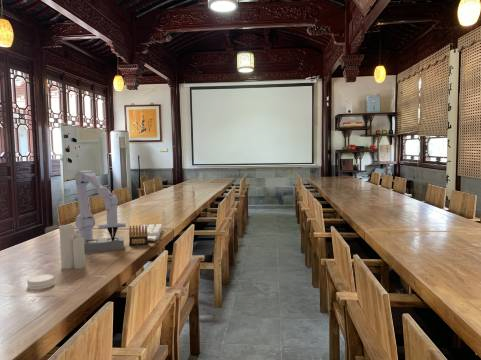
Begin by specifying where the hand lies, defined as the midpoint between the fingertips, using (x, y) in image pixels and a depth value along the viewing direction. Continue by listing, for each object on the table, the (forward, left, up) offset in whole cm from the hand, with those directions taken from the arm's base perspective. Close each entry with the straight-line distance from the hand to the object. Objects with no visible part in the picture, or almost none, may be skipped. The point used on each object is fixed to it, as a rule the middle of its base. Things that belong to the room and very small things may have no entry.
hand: (113, 240), depth 216 cm
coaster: (+15, -58, -5) cm, 60 cm away
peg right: (0, 0, -4) cm, 4 cm away
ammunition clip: (+9, +11, -5) cm, 15 cm away
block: (-4, -4, -4) cm, 7 cm away
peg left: (-8, -8, -4) cm, 12 cm away
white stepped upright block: (+7, -34, -5) cm, 35 cm away
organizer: (+1, +31, -5) cm, 31 cm away
